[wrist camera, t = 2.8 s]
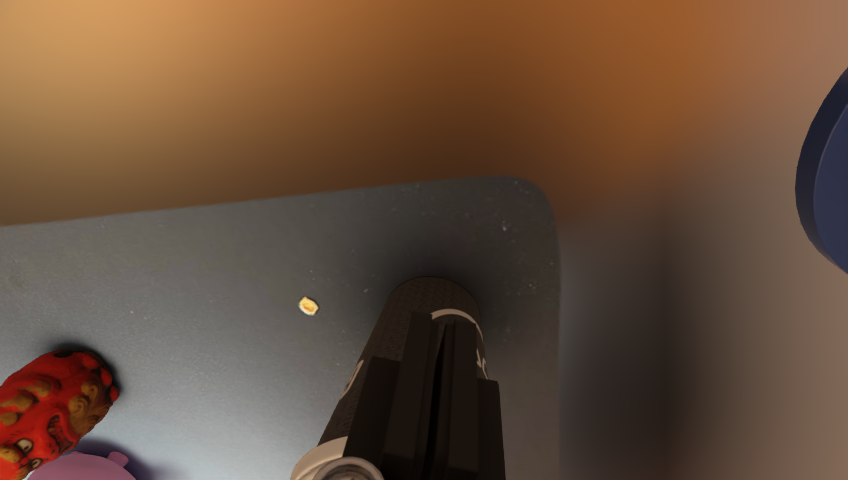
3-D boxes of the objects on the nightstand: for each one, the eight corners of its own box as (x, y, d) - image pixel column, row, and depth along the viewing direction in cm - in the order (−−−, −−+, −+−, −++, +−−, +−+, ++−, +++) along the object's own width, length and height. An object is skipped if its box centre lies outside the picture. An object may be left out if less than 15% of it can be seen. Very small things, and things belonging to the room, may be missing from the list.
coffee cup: (377, 238, 27) (276, 459, 13) (523, 279, 27) (565, 536, 14) (353, 348, 31) (260, 591, 18) (478, 382, 31) (476, 648, 18)
